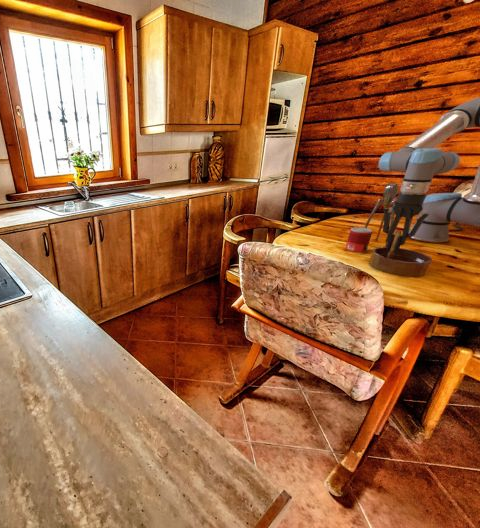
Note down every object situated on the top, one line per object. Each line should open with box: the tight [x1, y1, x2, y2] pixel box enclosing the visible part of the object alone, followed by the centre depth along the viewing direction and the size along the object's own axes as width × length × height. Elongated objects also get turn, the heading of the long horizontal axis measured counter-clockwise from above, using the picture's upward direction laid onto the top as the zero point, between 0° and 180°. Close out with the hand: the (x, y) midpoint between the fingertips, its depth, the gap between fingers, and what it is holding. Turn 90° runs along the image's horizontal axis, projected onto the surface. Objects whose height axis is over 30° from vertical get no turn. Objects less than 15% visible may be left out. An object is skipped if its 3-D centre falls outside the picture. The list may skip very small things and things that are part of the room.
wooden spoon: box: [387, 229, 403, 259], centre depth 113 cm, size 4×4×15 cm
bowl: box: [368, 246, 433, 278], centre depth 113 cm, size 18×18×6 cm
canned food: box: [345, 226, 373, 254], centre depth 131 cm, size 8×8×11 cm
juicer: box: [363, 182, 400, 247], centre depth 135 cm, size 10×11×30 cm
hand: (391, 251), depth 113 cm, fingers closed on wooden spoon, 2 cm apart
